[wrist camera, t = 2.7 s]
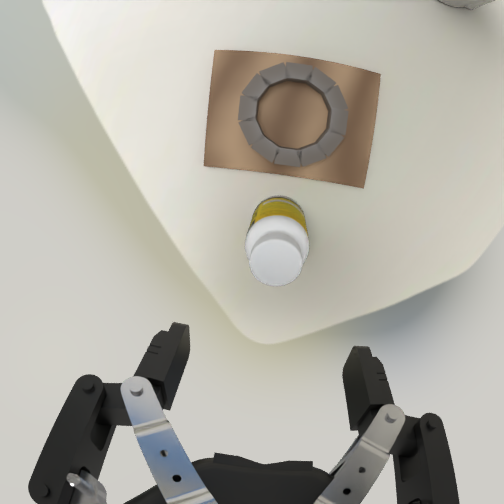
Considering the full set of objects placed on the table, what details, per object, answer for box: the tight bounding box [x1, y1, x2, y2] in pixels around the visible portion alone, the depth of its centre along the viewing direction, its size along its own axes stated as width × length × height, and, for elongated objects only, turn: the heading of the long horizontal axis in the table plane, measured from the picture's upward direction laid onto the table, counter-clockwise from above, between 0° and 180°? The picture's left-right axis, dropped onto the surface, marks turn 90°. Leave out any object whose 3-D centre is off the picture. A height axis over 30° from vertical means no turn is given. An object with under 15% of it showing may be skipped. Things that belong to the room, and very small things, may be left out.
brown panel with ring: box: [204, 50, 381, 188], centre depth 23 cm, size 16×12×3 cm
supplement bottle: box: [245, 196, 309, 286], centre depth 25 cm, size 5×5×10 cm
